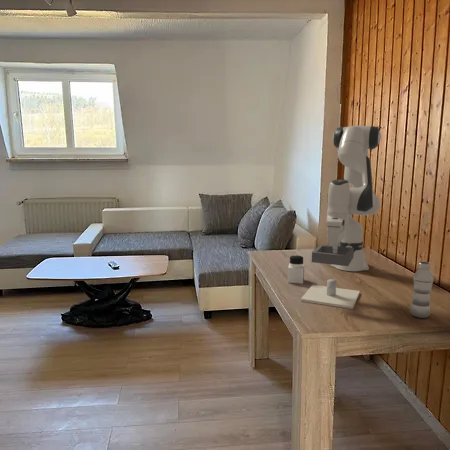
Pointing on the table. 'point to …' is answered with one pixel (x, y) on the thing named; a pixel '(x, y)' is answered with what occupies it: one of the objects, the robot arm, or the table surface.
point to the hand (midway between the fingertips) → (335, 252)
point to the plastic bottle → (422, 291)
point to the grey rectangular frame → (333, 255)
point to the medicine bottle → (296, 269)
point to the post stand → (331, 295)
